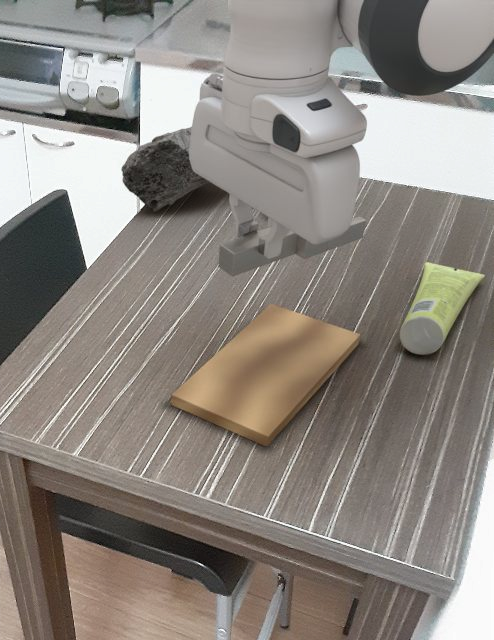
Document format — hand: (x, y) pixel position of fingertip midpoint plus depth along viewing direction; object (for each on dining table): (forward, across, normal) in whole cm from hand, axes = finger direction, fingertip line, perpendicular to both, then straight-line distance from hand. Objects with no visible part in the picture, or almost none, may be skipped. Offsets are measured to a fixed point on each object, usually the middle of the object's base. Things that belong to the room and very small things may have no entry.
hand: (257, 246), depth 75 cm
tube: (+13, +8, +19) cm, 24 cm away
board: (+16, +1, +2) cm, 16 cm away
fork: (+2, 0, +4) cm, 4 cm away
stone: (+10, -48, +15) cm, 51 cm away
